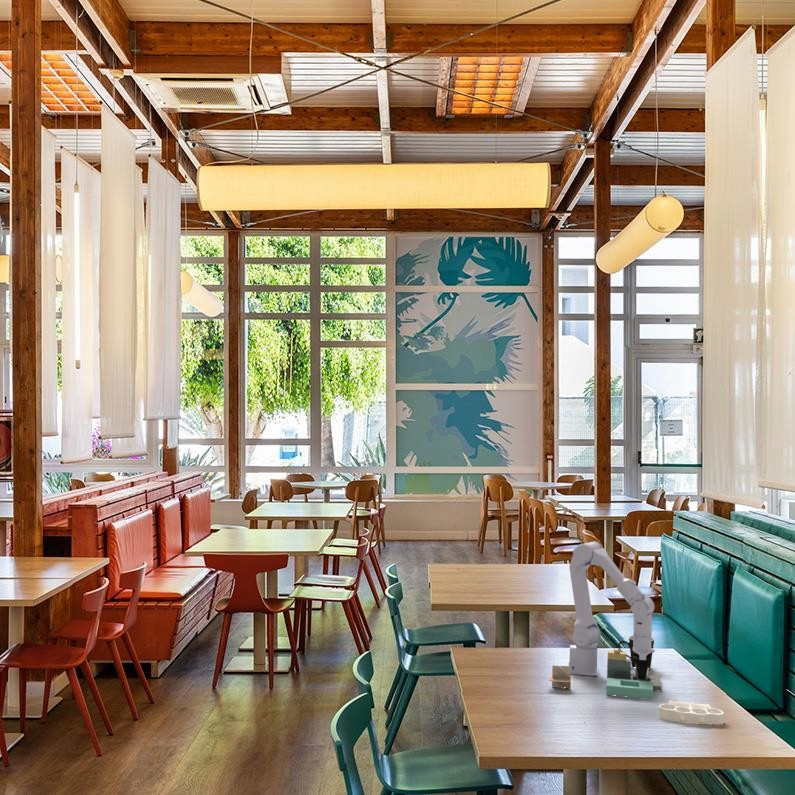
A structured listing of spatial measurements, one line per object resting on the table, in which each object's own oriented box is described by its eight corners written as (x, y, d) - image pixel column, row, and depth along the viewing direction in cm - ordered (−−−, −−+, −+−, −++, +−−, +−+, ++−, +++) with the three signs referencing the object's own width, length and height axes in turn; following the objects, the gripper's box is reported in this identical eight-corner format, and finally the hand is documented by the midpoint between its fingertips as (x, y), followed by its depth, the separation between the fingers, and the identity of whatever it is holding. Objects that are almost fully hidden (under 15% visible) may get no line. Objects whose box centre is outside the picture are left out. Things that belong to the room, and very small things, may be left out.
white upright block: (635, 685, 290) (635, 663, 290) (635, 682, 294) (635, 660, 294) (648, 686, 289) (648, 664, 289) (647, 683, 293) (648, 661, 293)
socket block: (606, 686, 288) (607, 663, 289) (607, 676, 300) (607, 654, 300) (661, 691, 284) (661, 668, 285) (659, 680, 296) (660, 658, 296)
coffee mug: (656, 666, 314) (657, 637, 314) (649, 671, 306) (650, 642, 307) (624, 660, 320) (624, 632, 320) (616, 666, 313) (617, 637, 313)
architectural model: (571, 692, 282) (571, 669, 282) (549, 691, 283) (549, 668, 283) (569, 689, 286) (570, 666, 286) (548, 688, 286) (548, 665, 286)
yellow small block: (607, 658, 293) (607, 649, 293) (607, 656, 296) (607, 647, 296) (626, 660, 292) (626, 651, 292) (626, 658, 294) (626, 649, 294)
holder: (606, 695, 279) (606, 685, 279) (606, 687, 287) (607, 677, 288) (653, 699, 275) (653, 689, 275) (651, 691, 284) (652, 681, 284)
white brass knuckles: (720, 714, 264) (726, 730, 250) (657, 708, 269) (659, 723, 255) (720, 702, 264) (726, 718, 250) (657, 696, 269) (659, 712, 255)
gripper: (656, 641, 284) (655, 684, 284) (654, 631, 298) (653, 671, 298) (633, 639, 286) (632, 682, 285) (632, 629, 300) (631, 670, 299)
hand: (641, 676), depth 292 cm, fingers open, 5 cm apart
